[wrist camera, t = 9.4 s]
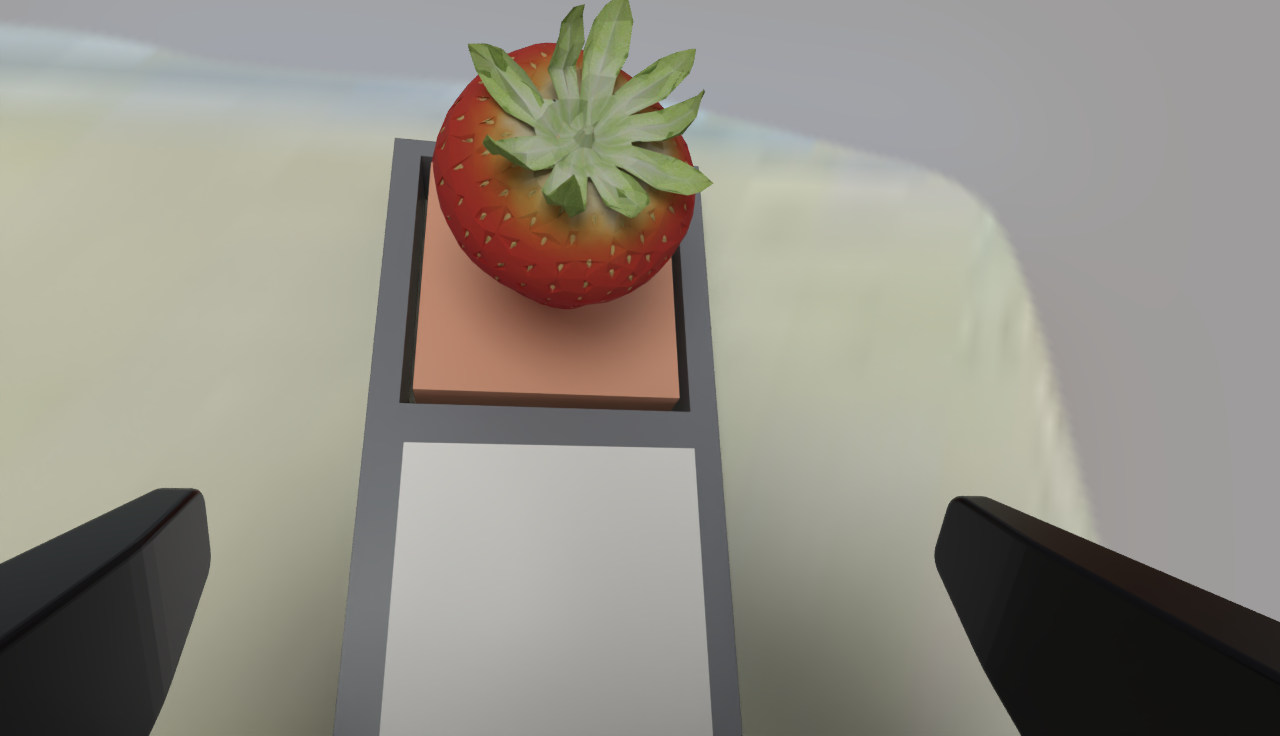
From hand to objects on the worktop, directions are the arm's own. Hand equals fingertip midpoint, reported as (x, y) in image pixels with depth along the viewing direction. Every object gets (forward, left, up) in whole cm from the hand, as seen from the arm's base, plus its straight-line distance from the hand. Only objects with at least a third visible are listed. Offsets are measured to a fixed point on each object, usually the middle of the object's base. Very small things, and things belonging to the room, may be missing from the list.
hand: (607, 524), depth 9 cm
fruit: (+6, +5, -8) cm, 12 cm away
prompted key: (+6, +5, -10) cm, 13 cm away
